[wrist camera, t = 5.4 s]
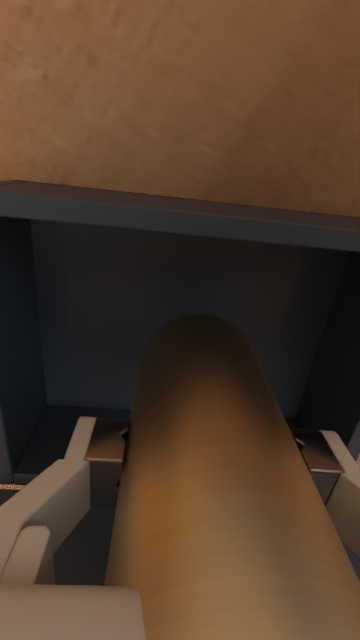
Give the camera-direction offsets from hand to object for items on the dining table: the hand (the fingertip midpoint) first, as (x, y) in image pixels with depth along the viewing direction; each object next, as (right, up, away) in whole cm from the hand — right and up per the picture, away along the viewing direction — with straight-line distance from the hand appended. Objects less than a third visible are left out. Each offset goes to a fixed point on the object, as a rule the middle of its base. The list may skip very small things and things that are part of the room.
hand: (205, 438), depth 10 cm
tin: (0, +2, +4) cm, 4 cm away
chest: (-1, +4, +9) cm, 9 cm away
